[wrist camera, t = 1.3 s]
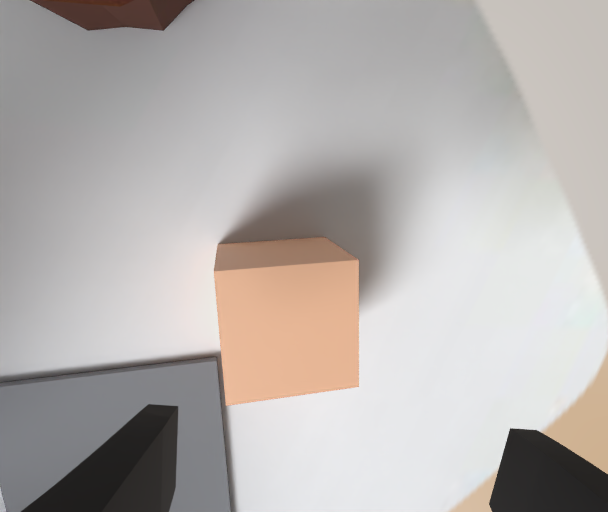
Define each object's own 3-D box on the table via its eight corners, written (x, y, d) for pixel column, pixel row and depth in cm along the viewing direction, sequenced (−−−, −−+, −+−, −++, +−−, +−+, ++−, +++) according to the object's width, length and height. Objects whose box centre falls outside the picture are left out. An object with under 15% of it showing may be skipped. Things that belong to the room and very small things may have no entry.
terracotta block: (226, 344, 18) (225, 405, 14) (217, 243, 17) (213, 271, 13) (326, 333, 19) (358, 386, 15) (324, 236, 18) (358, 259, 13)
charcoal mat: (26, 566, 19) (22, 574, 18) (-19, 384, 17) (-25, 390, 16) (232, 525, 21) (232, 532, 20) (216, 356, 18) (216, 360, 18)
